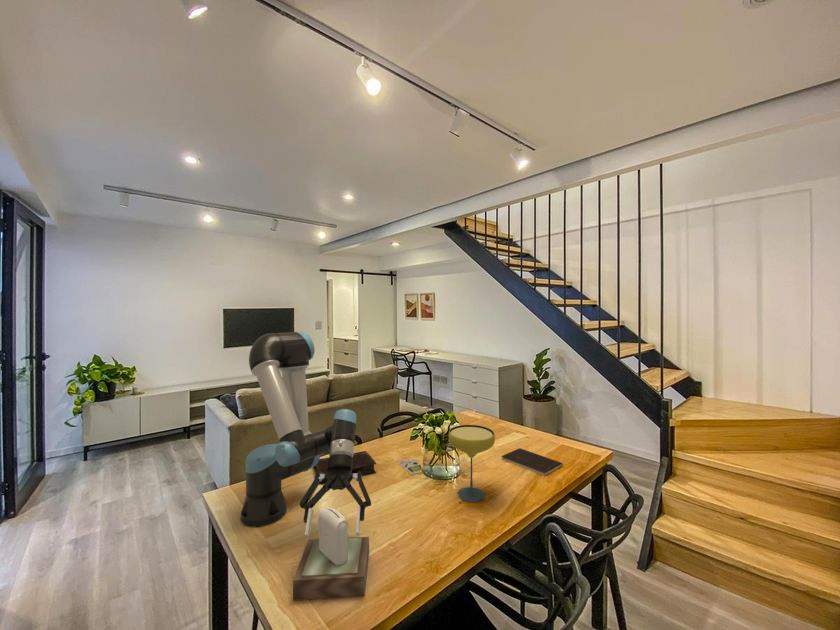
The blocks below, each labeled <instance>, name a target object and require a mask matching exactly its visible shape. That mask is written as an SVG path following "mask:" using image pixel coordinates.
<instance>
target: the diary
mask: <svg viewBox="0 0 840 630" xmlns="http://www.w3.org/2000/svg"><path fill="white" fill-rule="evenodd" d="M352 458H353V465H352V473H353V474H354V473H358V472H359V471H360V472H361V474H362V477H363V476H370V475H375V474H377V472H376V471H375V465H377V462H376V461H375V460H374V458H373V457H372V455H370V454H369V453H368V451H366V450H363V451H359V452H358V451H357V452H354V454H353V457H352ZM328 460H329V457H325V458H320V459H319V461H318V463H317V464H316V466H314V467H313V468H312V469H315V471H316V473H317V472H319V473H320V474H326V472H327V467H328ZM325 483H326V480H325V479H323V480H322V481H321V482H320V483H319V485H324V484H325Z"/></svg>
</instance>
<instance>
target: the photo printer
mask: <svg viewBox="0 0 840 630" xmlns="http://www.w3.org/2000/svg"><path fill="white" fill-rule="evenodd" d="M348 524H349V523H348V522H347V520H346V518H345V517H344V516H343V514H342V513H340V512H339V511H338V510H337V509H335V508H333V507H330V506H329V507H328V506H327V507H323V508H322V509H321V510H320V511H319V514H318V539H319V549H320V551H321V552H322V553H323V554H324V555H325V556H326V557H327V558H328V559H329V560H330V561H332V562H333V563H334V564H336V565H342V564H344V563H345V562H346V561H347V559H348V538H349V529H348V527H349V525H348Z"/></svg>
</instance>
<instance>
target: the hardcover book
mask: <svg viewBox="0 0 840 630" xmlns="http://www.w3.org/2000/svg"><path fill="white" fill-rule="evenodd" d="M501 460H502V461H504V462H508V463H511V465H512V464H513V465H515V466H518V467H520V468H522V469H524V470H528V471H530V472H533V473H535V474H537V475H540V476H543V477H546V476H547V475H549V474H551V473H553V472H554V471H557V470H558V469H560V468H561V467H563V462H561V461H558V460H555V459H552V458H549V457H547V456H543V455H540V454H538V453H535V452H532V451H528V450H527V449H524V448H520V447H519V448H517V449H515V450H512V451H510V452H507V453H505V454H503V455H501Z"/></svg>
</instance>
